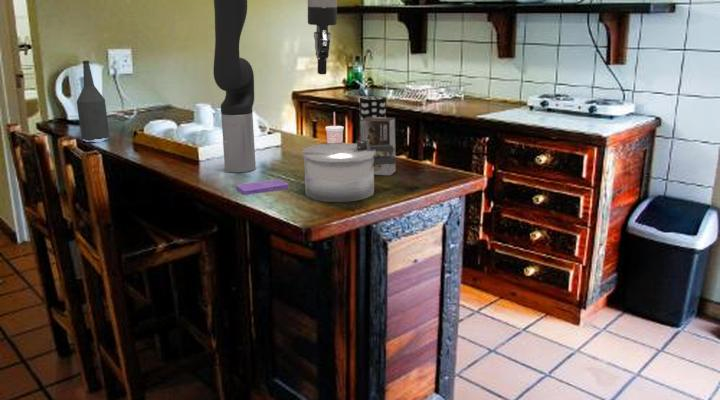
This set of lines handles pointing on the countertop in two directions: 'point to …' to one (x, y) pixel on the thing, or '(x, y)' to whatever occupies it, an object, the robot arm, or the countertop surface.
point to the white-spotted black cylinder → (372, 108)
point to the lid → (343, 152)
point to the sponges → (262, 186)
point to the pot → (342, 179)
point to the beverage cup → (334, 133)
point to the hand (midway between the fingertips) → (321, 74)
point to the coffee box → (380, 139)
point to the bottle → (91, 109)
